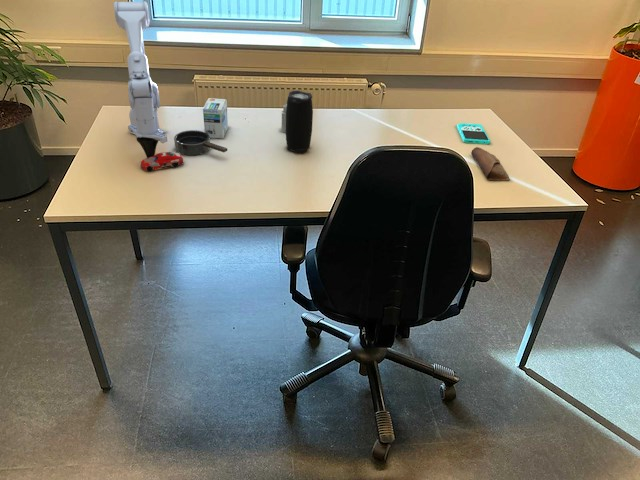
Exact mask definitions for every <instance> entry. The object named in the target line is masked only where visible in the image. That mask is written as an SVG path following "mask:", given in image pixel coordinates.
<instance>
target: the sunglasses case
mask: <svg viewBox="0 0 640 480" xmlns="http://www.w3.org/2000/svg"><path fill="white" fill-rule="evenodd" d="M470 154H471V156H472V157H473V158H474V160H475V161H476V163H477V164H478V166H479V167H480V168H481V171H482V172H483V174H484V175H485V177H486V178H487V180H489V181H494V182H504V181H510V176H509V174H508V173H507V171H506V169H505V168H504V166H503V165H502V164H501V161H500V160H499V158H497V157H496V156H495V155H494V154H493V153H490V152H489V151H487V150H485V149H483V148H481V147H478V146H477V147H476V146H475V147H474V148H473V149H472V150H471V152H470Z"/></svg>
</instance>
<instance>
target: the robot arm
mask: <svg viewBox="0 0 640 480" xmlns="http://www.w3.org/2000/svg"><path fill="white" fill-rule="evenodd" d="M113 11H114V18H115V22H116V24H117V26H118V27H119V28H120V29H123V30H124V31H125V32H126V36H127V41H128V46H129V51H130V53H129V54H128V55H127V57H126V62H127V69H128V77H129V80H128V82H127V83H128V85H127V86H128V87H127V91H128V102H129V107H130V110H129V123H130V124H129V125H127V131H128V132H129V133H130V134H131V135H135V137H136V141H137V143H139V144H138V145H140V147H141V148H142V151H143V152H144V155H145V157H146V158H149V157H152V156H154V154H155V155H156V149H157V146H158V143H159V142H160V144H165V143H167V142H168V136H167V135H166V134H164V133H166V130H165V129H161V128H160V122H159V113H158V109H160V107H161V100H160V92H159V88H158V86H157V83H155V82H153V81H152V77H151V75H150V71H149V69H150V68H149V62H148V57H147V55H146V52H145V43H144V37H143V33H144V31H145V29H147V28H149V27H150V22H151V20H150V13H149V4H148V3H147V1H117V0H115V1H114V2H113Z"/></svg>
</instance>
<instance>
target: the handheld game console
mask: <svg viewBox="0 0 640 480" xmlns="http://www.w3.org/2000/svg"><path fill="white" fill-rule="evenodd" d="M456 129H457V131H458V133H459V135H460V138H461V140H462V142H463V143H467V144H477V145H478V144H481V145H490V144H491V140H490V138H489V135H488V134H487V133H486V131H485V129H484V126H483V125H482V124H480V123H469V122H468V123H466V122H461V123H458V124H457V125H456Z"/></svg>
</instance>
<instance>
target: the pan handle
mask: <svg viewBox="0 0 640 480" xmlns="http://www.w3.org/2000/svg"><path fill="white" fill-rule="evenodd" d="M204 146H206V147H209V148H210V149H212V150H215V151H217V152H221V153H226V152H227V151H228V147H225V146H222V145H219V144H216V143H213V142H211V141H210V142H206V143H204Z"/></svg>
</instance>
